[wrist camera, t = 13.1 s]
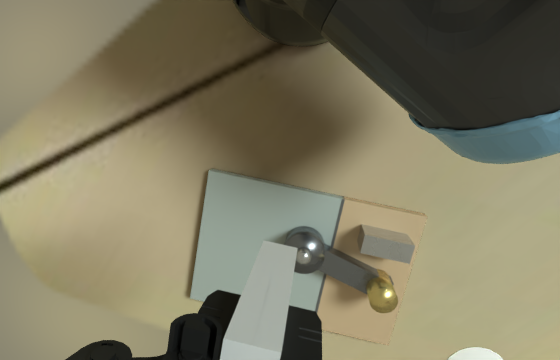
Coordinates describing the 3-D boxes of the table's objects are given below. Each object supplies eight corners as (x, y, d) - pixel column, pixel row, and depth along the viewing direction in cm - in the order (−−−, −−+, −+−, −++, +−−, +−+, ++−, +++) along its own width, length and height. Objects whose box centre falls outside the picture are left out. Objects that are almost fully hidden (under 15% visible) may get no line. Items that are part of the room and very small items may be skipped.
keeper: (361, 224, 38) (365, 234, 35) (407, 234, 38) (415, 245, 35) (356, 240, 39) (360, 253, 36) (402, 250, 39) (409, 263, 35)
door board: (212, 168, 40) (208, 170, 39) (424, 213, 39) (427, 217, 37) (193, 293, 44) (189, 298, 43) (386, 338, 42) (388, 345, 41)
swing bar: (278, 252, 40) (273, 268, 36) (295, 219, 39) (292, 232, 35) (378, 302, 40) (385, 324, 36) (398, 270, 39) (407, 289, 35)
